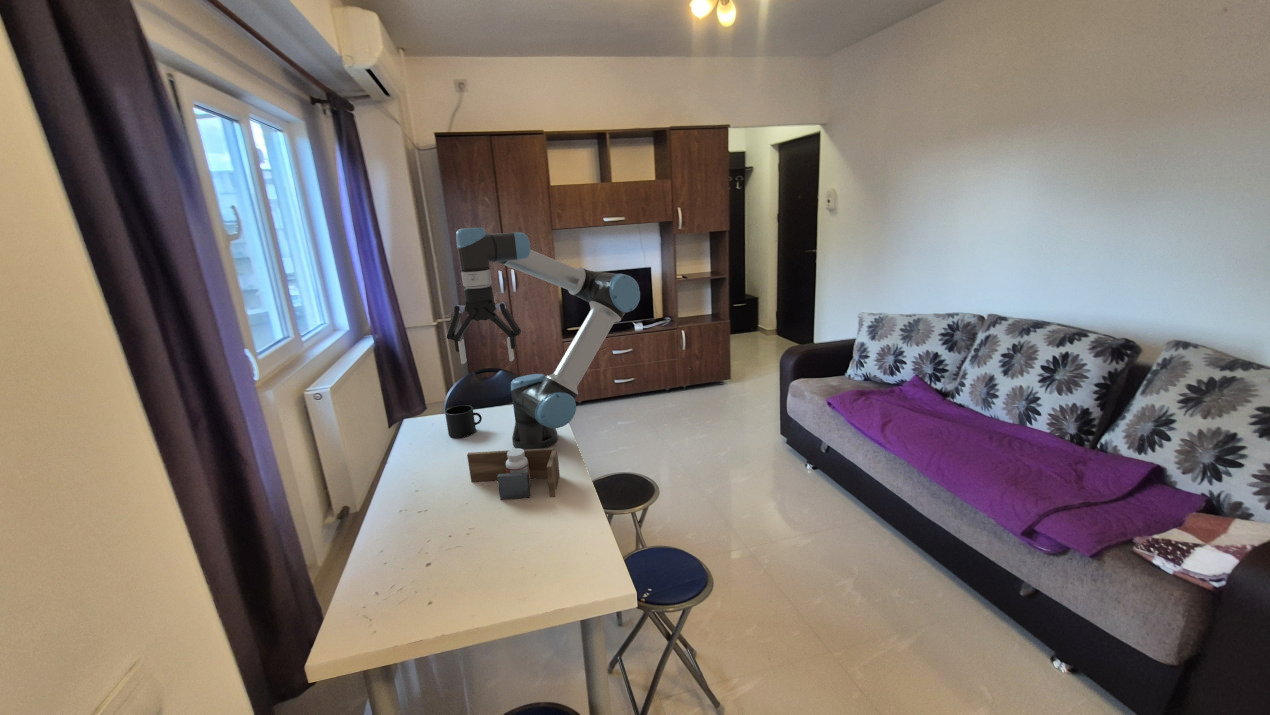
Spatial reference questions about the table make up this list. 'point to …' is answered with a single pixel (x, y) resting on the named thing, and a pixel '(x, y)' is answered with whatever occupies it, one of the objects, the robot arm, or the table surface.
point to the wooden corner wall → (494, 463)
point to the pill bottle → (517, 462)
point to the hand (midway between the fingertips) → (488, 361)
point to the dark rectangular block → (514, 486)
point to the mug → (461, 421)
